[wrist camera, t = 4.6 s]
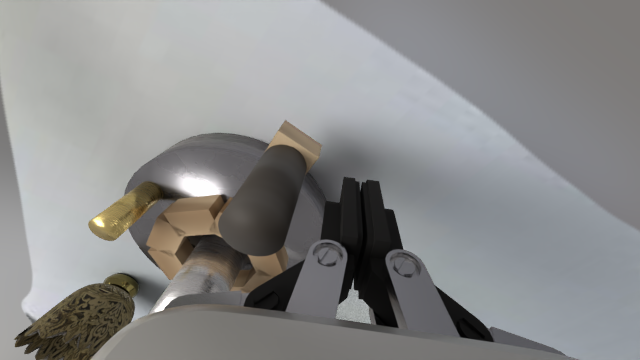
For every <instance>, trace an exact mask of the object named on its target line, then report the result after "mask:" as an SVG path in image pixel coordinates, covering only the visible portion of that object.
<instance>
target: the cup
mask: <svg viewBox="0 0 640 360" xmlns="http://www.w3.org/2000/svg"><path fill="white" fill-rule="evenodd" d="M138 290H139V285H138V283H137V282H136V281H135V280H134V279H133V278H131V277H130V276H127V275H124V274H113V275H111V276H109V277H107V278H106V279H105V280H104V282H103V283H98V284H92V285H88V286H85V287H83V288H81V289H79V290H77V291H75V292H74V293H72V294H71V295H69V296H68V297H66V298H65V299H64V300H62V301H61V302H60V303H58V304H57V305H56V306H55V307H53V308H52V309H51V310H50V311H48V312H47V313H46V314H45V315H43V316H42V317H41V318H39V319H38V320H37V321H36V322H34V323H33V324H32V325H31V326H29V327H28V328H27V329H26V330H24V331H23V332H22V333H20V334H19V335H18V336H17V337H16V338H15V340H16V339H17V341H16V343H15V347H20V346H23V345H26V344H29V346H28V347H27V348H26V350H25V354H29V353H31V352H33V351H34V350H36V349H38V348H39V349H38V351H37V354H36V355H35V358H36V360H42V359H46V360H60V359H61V358H63V360H90V359H91V358H92V357H93V356H94V355H95V354H96V353H97V352H98V351H99V350H100V348H101V347H102V346H103V345H104V344H105V343H106V342H107V341H108V340H110V339H111V338H112V337H113V336H114V335H115V334H116V333H117V332H118V331H120V330H121V329H122V328H124V327H125V326H126V325H128V324H129V323H131V320H132V318H133V315H134V310H135V305H134V301H133V299H132V298H134V297H135V296H136V295H137V293H138Z"/></svg>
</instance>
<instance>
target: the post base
mask: <svg viewBox="0 0 640 360" xmlns="http://www.w3.org/2000/svg"><path fill="white" fill-rule="evenodd" d="M268 146H269V144H266V143H264V142H262V141H259V140H256V139H253V138H249V137H246V136H241V135H235V134H226V133H211V134H202V135H198V136H193V137H190V138H187V139H185V140H182V141H180V142H178V143H177V144H175V145H174V146H172V147H170V148H169V149H167V150H166V151H164V152H163V153H161V154H160V155H158V156H157V157H155V158H154V159H152V160H151V161H149V162H148V163H146V164H145V165H143V166H142V167H141V168H140V169H139V170H138V171H137V172H135V173H134V175H133V176H132V178H131V179H130V181H129V182H128V185H127V187H126V190H125V194H124V196H123V197H122V198H121V199H119V200H118V201H116V202H115V203H114V204H112V205H111V206H110V207H108V208H107V209H106V210H104V211H103V212H101V213H100V214H99V215H97V216H96V217H95V218H93V219H92V220H91V221H89V223H88V225H89V228H90V230H91V231H92V232H93V233H94V234H95V235H96V236H98V237H99V238H102V239H104V240H108V241H113V240H116V239H117V238H118V237H119V236H120V235H121V234H123V233H124V232H125V231H126V230H127V229H129V231H130V233H131V235H132V237H133V239H134V240H135V242H136V243H137V245H138V246H139V248H140V249H141V250H142V252H143V253H144V254H145V255H146V256H147V257H148V258H149V259H150V260H151V261H152V262H153V263H154V264H155V265H156V266H157V267H158V268H159V269H161V268H160V267H159V266H158V264H157V263H156V262H155V260H154V259H153V258H152V256H151V255H150V254H149V252H148V250H149V249H150V248H151V247H150V246H148V245H146V243H147V241H148V238H149V236H150V233H151V231H152V229H153V226H154V224H155V221H156V219H157V217H158V216H159V215H160V214H161V213H162V212H163V211H164V210H165V209H166V208H167V207H168V206H169V205H170V204H171V203H175V202H176V201H177V200H178V199H182V198H191V197H201V196H210V195H221V197H222V199H223V201H224V204H225V203H226V202H227V201H228V199H229V198H230V197H231V198H233V197H234V196H235V194H236V193H237V191H238V190H239V189H240V187H241V186H242V184H243V183H244V181H245V180H246V178H247V177H248V176H249V174H250V173H251V171H252V170H253V168H254V167H255V165H256V164H257V163H258V161H259V160H260V158H261V157H262V155H263V154H264V152H265V151H266V149H267V148H268ZM325 201H326V199H325V197H324V194H323V192H322V190H321V189H320V187H319V186H318V184H317V183H316V181H315V180H314V179H313V178H312V176H311V175H310V174H309V173H308V172H307V174H306V175H305V177H304V181H303V184H302V187H301V190H300V194H299V197H298V200H297V204H296V207H295V210H294V214H293V217H292V220H291V224H290V227H289V230H288V234H287V237H286V240H285V243H284V246H285V249H286V252H287V254H288V257H289V259H288V263H287V268H286V270H287V269H289V268H291V267H292V266H294V265H296V264H298V263H299V262H301V261H303V260H305V259H306V256H307V254H308V251H309V249H310V247H311V246H312V245H313V244H314V243H315V242H317V241H320V238H321V231H322V223H323V216H324V208H325ZM188 240H189V242H190V243H191V245H192V247H193V248H194V250H193V251H192V253H191V254H190V256H189V257H188V258H187V260H186V261H185V263H184V264H183V265H182V267H181V268H180V270H179V271H178V272H177V274H176V275H175V277H174V278H173V280H172V281H171V282H170V284H169V285H168V287H167V288H166V289H165V291H164V292H163V294H162V295H161V296H160V298H159V299H158V301H157V302H156V303H155V305H154V306H153V308H152V309H151V311H150V312H149V313H148V315H149V314H152V313H154V312H158V311H161V310H163V309H164V308H165V306H166V305H167V304H168V303H170V302H171V301H172V300H174V299H176V298H177V297H179V296H183V295H188V294H201V293H214V292H227V291H231V289H232V287H233V285H234V283H235V281H236V278H237V276H238V274H239V272H240V270H250V269H251V268H252V267H253V265H252V263H251V260H250V258H249V256H248V255H247V254H244V253H241V252H239V251H237V250H235V249H234V248H232V247H231V246H230V245H229V244H227V243H226V241H225V240H224V239H223V238H221V237H219V236H218V235H216V234H208V235H195V236H188Z"/></svg>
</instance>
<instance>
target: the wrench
mask: <svg viewBox="0 0 640 360" xmlns="http://www.w3.org/2000/svg"><path fill="white" fill-rule="evenodd" d="M321 147H322V145H321V144H320V143H318V142H317V141H315V140H314V139H312V138H311V137H309V136H308V135H306V134H305V133H303V132H302V131H300V130H299V129H297V128H296V127H295V126H293V125H292V124H290V123H289V122H287V121H286V120H285V122H284V123H283V124H282V126H281V127H280V129H279V130H278V132H277V133H276V135H275V136H274V138H273V140H272V141H271V143H270V144H269V146H268V148H267V149H266V151H265V152H264V154H263V155H262V157H261V158H260V160H259V161H258V163H257V164H256V165H255V167H254V168H253V170H252V171H251V173H250V174H249V176H248V177H247V178H246V180H245V181H244V183H243V184H242V186H241V187H240V189H239V190H238V191H237V193H236V194H235V196H234V197H233V198H231V197H230V198H229V199H228V201H227V202H226V203H225V204H224V201H223V199H222V197H221V195H210V196H201V197H191V198H182V199H178V200H177V201H176V202H175V203H171V204H170V205H169V206H168V207H167V208H166V209H165V210H164V211H163V212H162V213H161V214H160V215H159V216H158V217H157V219H156V221H155V224H154V226H153V229H152V231H151V233H150V236H149V238H148V241H147V243H146V245H148V246H150V247H151V248H150V249H149V250H148V252H149V254H150V255H151V256H152V258H153V259H154V260H155V262H156V263H157V264H158V266H159V267H160V268H161V270H162V271H163V272H164V274H165V275H166V276H167V278H168V279H169V280H173V278H174V277H175V275H176V274H177V272H178V271H179V270H180V268H181V267H182V265H183V264H184V263H185V261H186V260H187V258H188V257H189V256H190V254H191V253H192V251H193V250H194V248H193V247H192V245H191V243H190V242H189V240H188V236H195V235H208V234H216V235H218V236H219V237H221V238H223V239H224V240H225V241H226V243H227V244H229V245H230V246H231V247H232V248H234V249H235V250H237V251H239V252H241V253H244V254H247V255H248V256H249V258H250V260H251V263H252V265H253V267H252V268H251V269H250V270H240V272H239V274H238V276H237V278H236V281H235V283H234V285H233V287H232V289H231V291H239V290H241V292H242V293H250V292H251V291H252V290H254V289H255V288H256V287H258V286H260V285H261V284H263V283H265V282H267V281H268V280H270V279H272V278H273V277H275V276H277V275H279V274H280V273H282V272H284V271H286V268H287V263H288V259H289V257H288V254H287V252H286V249H285V246H284V243H285V240H286V237H287V234H288V230H289V227H290V224H291V220H292V217H293V214H294V210H295V207H296V204H297V200H298V197H299V194H300V190H301V187H302V184H303V181H304V177H305V175H306V174H307V172H308V171H309V170H310V168H311V167H312V166H313V165H314V163H315V162H316V161H317V159H318V158H319V155H320V151H321Z"/></svg>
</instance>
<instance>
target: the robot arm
mask: <svg viewBox="0 0 640 360" xmlns="http://www.w3.org/2000/svg"><path fill="white" fill-rule="evenodd" d="M353 278H354V290H358V292H359V299H363V300H364V301H365V302H366V304H367V305H368V306H369V316H370V320H371V324H367V323H360V322H353V321H346V320H339V319H335V318H336V313H337V308H338V305H339V304H340V303H341V302H342V301H344V300H345V299H346V298H347V297H348V292H349V289H351V286H352V282H353ZM90 360H578V359H575V358H571V357H568V356H566V355H565V354H563V353H562V352H560V351H558V350H556V349H554V348H551V347H549V346H546V345H543V344H540V343H537V342H534V341H532V340H529V339H526V338H523V337H520V336H517V335H515V334H512V333H509V332H506V331H503V330H500V329H497V328H495V327H491V328H490V329H488V328H486V326H485V325H484V324H483V323H482V322H481V321H480V320H478V319H477V318H476V317H475V316H473V315H472V314H471V313H470V312H468V311H467V310H466V309H464V308H463V307H462V306H461V305H459V304H458V303H457V302H456V301H454V300H453V299H452V298H450V297H449V296H448V295H447V294H445V293H444V292H443V291H442V290H440V289H439V288H438V287H436V286H435V285H434V283H433V281H432V279H431V277H430V275H429V273H428V271H427V269H426V267H425V265H424V264H423V262H422V261H421V259H420V258H418V257H417V256H416V255H415V254H413V253H411V252H409V251H406V250H403V246H402V242H401V238H400V234H399V230H398V226H397V222H396V218H395V214H394V211H393V210H391V209H384V204H383V199H382V194H381V189H380V184H379V181H373V180H367V181H366V183H365V182H362V185H361V190H360V185H359V182H357V181H355V178H348V177H344V179H343V185H342V191H341V197H340V203H336V202H328V201H325V208H324V216H323V223H322V231H321V238H320V241H317V242H315V243H314V244H313V245H312V246H311V247H310V249H309V251H308V254H307V256H306V259H305V260H303V261H301V262H299V263H298V264H296V265H294V266H292V267H291V268H289V269H287V270H286V271H284V272H282V273H280V274H279V275H277V276H275V277H273V278H272V279H270V280H268V281H267V282H265V283H263V284H261V285H260V286H258V287H256V288H255V289H254V290H252V291H251V292H250V293H242V292H241V290H239V291H227V292H214V293H201V294H188V295H183V296H179V297H177V298H176V299H174V300H172V301H171V302H170V303H168V304H167V305H166V306H165V308H164V309H163V310H161V311H158V312H154V313H152V314H149V315H146V316H144V317H141V318H139V319H137V320H135V321H133V322H131V323H129V324H128V325H126V326H125V327H124V328H122V329H121V330H120V331H118V332H117V333H116V334H115V335H114V336H113V337H112V338H111V339H110V340H108V341H107V342H106V343H105V344H104V345H103V346H102V347H101V348H100V350H99V351H98V352H97V353H96V354H95V355H94V356H93V357H92V358H91V359H90Z"/></svg>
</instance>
